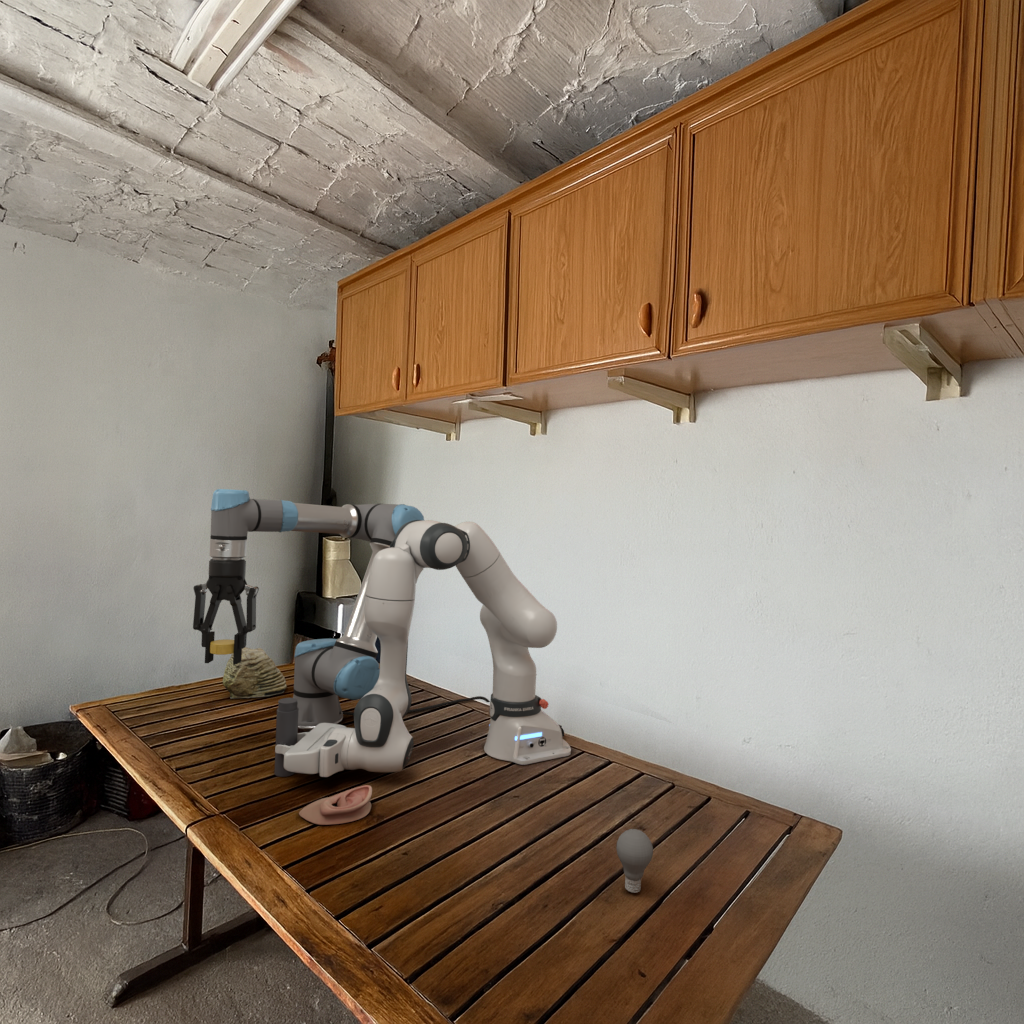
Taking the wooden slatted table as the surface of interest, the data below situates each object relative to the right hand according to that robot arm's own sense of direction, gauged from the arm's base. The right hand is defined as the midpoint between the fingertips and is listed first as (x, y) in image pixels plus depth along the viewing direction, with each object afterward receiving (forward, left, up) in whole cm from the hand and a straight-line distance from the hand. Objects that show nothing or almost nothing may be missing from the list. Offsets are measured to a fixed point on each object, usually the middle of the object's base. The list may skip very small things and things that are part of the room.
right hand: (282, 742), depth 145 cm
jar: (-1, 0, -7) cm, 7 cm away
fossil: (+8, -60, -7) cm, 61 cm away
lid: (+13, -1, +23) cm, 26 cm away
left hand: (+13, -1, +19) cm, 23 cm away
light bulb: (-56, +61, -7) cm, 83 cm away
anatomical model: (-11, +22, -7) cm, 25 cm away
